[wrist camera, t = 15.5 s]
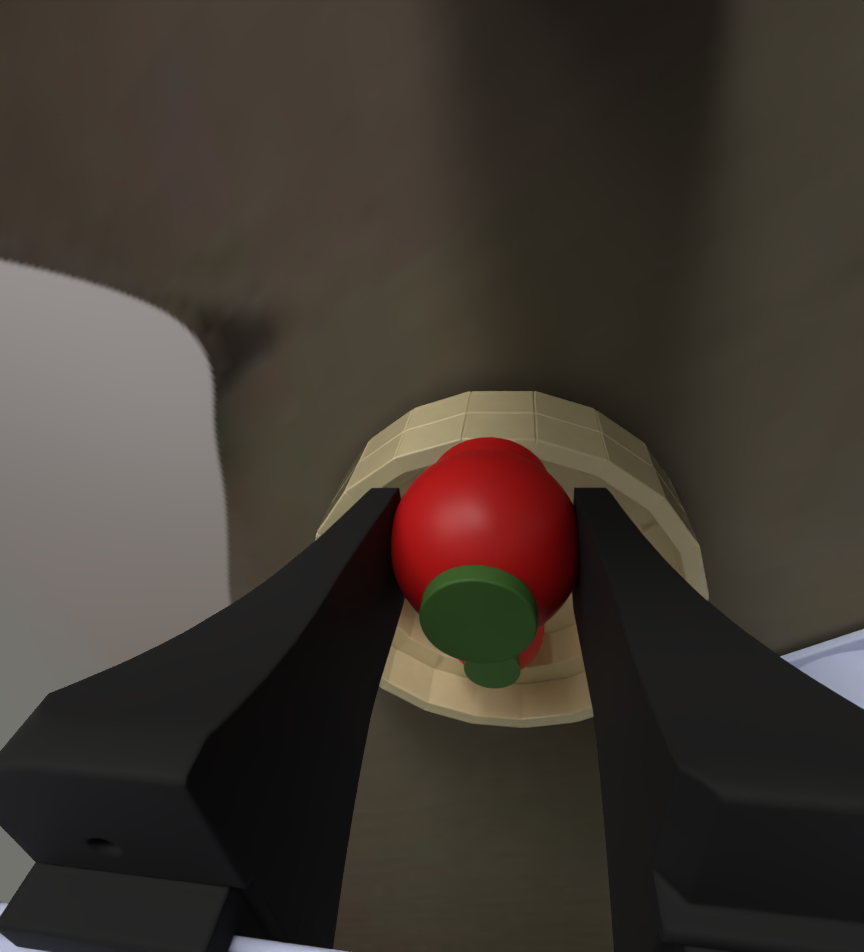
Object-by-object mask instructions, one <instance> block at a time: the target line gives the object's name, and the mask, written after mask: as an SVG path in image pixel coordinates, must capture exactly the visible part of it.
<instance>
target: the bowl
mask: <svg viewBox="0 0 864 952" xmlns="http://www.w3.org/2000/svg"><path fill="white" fill-rule="evenodd" d="M481 437H495V438H502V439H507V440H510V441H513V442H516V443H518V444H520V445H522V446H524V447H525V448H527V449H528V450H530V451H531V452H532V453H533V454H535V455H536V456H537V457H538V458H539V459H540V461H541V462H542V463H543V465H544V466H545V468H546V470H547V472H548V473H549V474H551V475H552V476H553V477H554V479H555V480H556V481H557V482H558V483H559V484H560V485H561V486H562V487H563V489H564V490H565V492H566V493H567V495H568V496H569V498H570V500H571V502H572V504H573V501H574V488H607V489H608V490H609V491H610V492H611V493H612V495H613V496H614V498H615V499H616V500H617V502H618V503H619V505H620V506H621V507H622V509H623V510H624V511H625V513H626V514H627V515H628V516H629V518H630V519H631V520H632V522H633V523H634V524H635V525H636V527H637V528H638V529H639V530H640V531H641V533H642V534H643V535H644V536H645V537H646V538H647V540H648V541H649V542H650V543H651V544H652V545H653V546H654V548H655V549H656V550H657V551H658V552H659V553H660V554H661V556H662V557H663V558H664V559H665V560H666V561H667V562H668V563H669V564H670V565H671V566H672V567H673V568H674V569H675V570H676V571H677V572H678V573H679V574H680V575H681V576H682V577H683V578H684V579H685V580H686V581H687V582H688V583H689V584H690V585H691V586H692V587H693V588H694V589H695V590H696V591H697V592H698V593H699V594H700V595H702V596H703V597H704V598H705V599H706V600H707V601H708V599H709V591H708V585H707V580H706V575H705V570H704V564H703V559H702V554H701V548H700V545H699V543H698V541H697V538H696V536H695V534H694V531H693V529H692V527H691V524H690V522H689V520H688V517H687V515H686V513H685V510H684V508H683V506H682V503H681V501H680V499H679V496H678V494H677V492H676V489H675V487H674V485H673V483H672V482H671V480H670V479H669V477H668V476H667V474H666V473H665V472H664V470H663V469H662V467H661V466H660V464H659V463H658V462H657V460H656V459H655V457H654V456H653V454H652V453H651V452H650V450H649V449H648V447H647V446H646V444H645V443H643V442H642V441H641V440H640V439H638V438H637V437H635V436H634V435H632V434H631V433H629V432H628V431H626V430H625V429H624V428H622V427H621V426H619V425H618V424H616V423H615V422H613V421H612V420H610V419H609V418H607V417H606V416H605V415H603V414H602V413H600V412H599V411H597V410H595V409H594V408H591V407H588V406H584V405H581V404H578V403H574V402H571V401H568V400H564V399H561V398H557V397H554V396H551V395H547V394H544V393H540V392H537V391H534V392H533V391H472V392H470V391H468V392H465V393H462V394H459V395H455V396H452V397H449V398H446V399H442V400H439V401H436V402H433V403H429V404H426V405H423V406H420V407H417V408H414V409H413V410H411V411H409V412H408V413H406V414H405V415H404V416H402V417H401V418H399V419H398V420H397V421H395V422H394V423H392V424H391V425H390V426H388V427H387V428H385V429H384V430H383V431H381V432H380V433H378V434H377V435H376V436H374V437H373V438H371V440H370V441H369V442H368V443H367V444H366V446H365V447H364V449H363V450H362V452H361V453H360V455H359V456H358V458H357V459H356V461H355V462H354V464H353V465H352V467H351V468H350V470H349V471H348V473H347V474H346V476H345V477H344V479H343V481H342V483H341V485H340V487H339V489H338V491H337V493H336V495H335V497H334V499H333V501H332V503H331V505H330V507H329V509H328V511H327V513H326V515H325V517H324V519H323V521H322V523H321V525H320V527H319V529H318V531H317V533H316V538H315V541H316V540H317V539H318V538H319V537H320V536H321V535H322V534H323V533H324V532H325V531H326V530H328V529H329V528H330V527H331V526H332V525H333V524H334V523H335V522H336V521H337V520H338V519H339V518H340V517H341V516H343V515H344V514H345V513H346V512H347V511H348V510H349V509H350V508H351V507H352V506H353V505H354V504H355V503H356V502H357V501H358V500H359V499H360V498H361V497H362V496H363V495H364V494H365V493H366V492H368V491H369V490H370V489H371V488H399V490H400V496H401V499H402V497H403V495H404V493H405V492H406V491H407V489H408V488H409V487H410V485H411V484H412V483H413V482H414V480H415V479H416V478H417V477H418V476H419V475H420V474H421V473H423V472H424V471H425V470H426V469H428V468H429V467H430V466H432V465H433V464H435V463H436V462H437V461H438V460H439V459H440V457H441V456H442V455H443V454H444V453H445V452H447V451H448V450H449V449H451V448H452V447H454V446H456V445H457V444H459V443H462V442H464V441H467V440H470V439H474V438H481ZM379 687H381V688H382V689H384V690H386V691H388V692H390V693H392V694H394V695H395V696H397V697H399V698H401V699H403V700H405V701H407V702H409V703H411V704H413V705H415V706H417V707H419V708H421V709H424V710H425V711H428V712H432V713H436V714H439V715H443V716H446V717H450V718H453V719H457V720H460V721H464V722H468V723H471V724H472V723H473V724H482V725H494V726H505V727H517V728H524V727H525V728H529V727H539V726H548V725H557V724H567V723H575V722H580V721H583V720H586V719H589V718H592V717H594V716H593V709H592V704H591V699H590V694H589V688H588V683H587V678H586V673H585V668H584V663H583V658H582V652H581V647H580V642H579V637H578V632H577V626H576V621H575V616H574V610H573V599H572V592H571V594H570V596H569V597H568V599H567V600H566V602H565V603H564V605H563V606H562V607H561V608H560V610H559V611H558V612H557V613H556V614H555V615H554V616H553V617H552V618H551V619H549V620H548V621H547V622H546V623H545V624H544V637H543V642H542V645H541V647H540V650H539V652H538V653H537V655H536V656H535V658H534V659H533V660H532V661H531V663H530V664H529V665H527V666H526V667H525V668H524V669H522V670H521V672H520V676H519V678H518V680H517V681H516V682H515V683H514V684H512V685H510V686H508V687H504V688H498V689H493V688H486V687H482V686H479V685H477V684H475V683H473V682H472V681H471V680H470V679H469V678H468V677H467V676H466V674H465V672H464V665H463V664H462V663H461V662H460V661H459V660H458V659H456V658H453V657H451V656H449V655H447V654H445V653H443V652H442V651H440V650H439V649H437V648H436V647H435V646H434V645H433V644H432V643H431V642H430V641H429V640H428V639H427V637H426V636H425V634H424V632H423V631H422V628H421V625H420V620H419V614H418V613H417V612H416V611H415V610H414V608H413V607H412V606H411V604H410V603H409V602H408V600H407V599H406V597H405V598H404V604H403V607H402V611H401V614H400V618H399V621H398V625H397V628H396V631H395V635H394V638H393V641H392V645H391V648H390V651H389V655H388V658H387V661H386V664H385V668H384V671H383V674H382V678H381V681H380V684H379Z"/></svg>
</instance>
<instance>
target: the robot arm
mask: <svg viewBox="0 0 864 952" xmlns="http://www.w3.org/2000/svg"><path fill="white" fill-rule="evenodd" d="M400 501H401V496H400V490H399V488H371V489H370V490H369V491H368V492H366V493H365V494H364V495H363V496H362V497H361V498H360V499H359V500H358V501H357V502H356V503H355V504H354V505H353V506H352V507H351V508H350V509H349V510H348V511H347V512H346V513H345V514H344V515H343V516H341V517H340V518H339V519H338V520H337V521H336V522H335V523H334V524H333V525H332V526H331V527H330V528H329V529H328V530H326V531H325V532H324V533H323V534H322V535H321V536H320V537H319V538H318V539H317V540H316V541H315V542H313V543H312V544H311V545H310V546H309V547H307V548H306V549H305V550H304V551H303V552H301V553H300V554H299V555H298V556H297V557H295V558H294V559H293V560H292V561H291V562H289V563H288V564H287V565H286V566H285V567H283V568H282V569H281V570H280V571H278V572H277V573H276V574H274V575H273V576H272V577H270V578H269V579H268V580H266V581H265V582H264V583H262V584H261V585H259V586H258V587H257V588H255V589H254V590H252V591H251V592H249V593H248V594H246V595H245V596H243V597H242V598H241V599H239V600H237V601H236V602H234V603H233V604H231V605H230V606H228V607H226V608H225V609H223V610H221V611H219V612H218V613H216V614H214V615H213V616H211V617H209V618H208V619H206V620H204V621H203V622H201V623H199V624H198V625H196V626H194V627H193V628H191V629H189V630H187V631H185V632H184V633H182V634H180V635H178V636H176V637H174V638H172V639H170V640H169V641H167V642H165V643H163V644H161V645H159V646H157V647H155V648H153V649H150V650H149V651H146V652H144V653H142V654H140V655H138V656H136V657H134V658H132V659H130V660H128V661H125V662H123V663H121V664H119V665H117V666H114V667H112V668H110V669H107V670H105V671H102V672H100V673H98V674H95V675H93V676H90V677H88V678H86V679H84V680H81V681H79V682H76V683H74V684H71V685H69V686H67V687H64V688H62V689H59V690H57V691H54V692H52V693H49V694H48V695H47V696H46V697H45V698H44V700H43V701H42V702H41V703H40V705H39V706H38V707H37V708H36V709H35V710H34V712H33V713H32V714H31V715H30V716H29V718H28V719H27V720H26V721H25V722H24V724H23V725H22V726H21V727H20V728H19V729H18V731H17V732H16V733H15V734H14V735H13V737H12V738H11V739H10V740H9V741H8V743H7V744H6V745H5V746H4V748H3V749H2V750H1V751H0V826H1V827H2V828H3V829H4V830H5V831H6V832H7V833H8V834H9V835H10V836H11V837H12V838H13V839H14V840H15V841H16V842H17V843H18V844H19V845H20V846H21V847H22V848H23V849H24V851H25V852H26V853H27V854H28V855H29V856H30V857H31V858H32V859H33V860H34V861H35V862H36V863H35V864H34V866H33V867H32V869H31V871H30V872H29V873H28V875H27V876H26V878H25V880H24V881H23V882H22V884H21V886H20V887H19V889H18V890H17V891H16V893H15V895H14V896H13V898H12V900H11V901H10V902H9V903H5V902H0V952H348V951H341V950H334V949H333V944H334V936H335V929H336V922H337V915H338V908H339V901H340V893H341V886H342V879H343V872H344V866H345V860H346V853H347V847H348V841H349V835H350V828H351V822H352V816H353V810H354V804H355V798H356V793H357V787H358V781H359V776H360V770H361V764H362V759H363V754H364V749H365V744H366V738H367V733H368V728H369V723H370V718H371V714H372V710H373V706H374V702H375V698H376V694H377V691H378V688H379V684H380V681H381V678H382V674H383V671H384V668H385V664H386V661H387V658H388V655H389V651H390V648H391V645H392V641H393V638H394V635H395V631H396V628H397V625H398V621H399V618H400V614H401V611H402V607H403V604H404V598H405V596H404V595H403V593H402V591H401V589H400V587H399V585H398V582H397V580H396V577H395V574H394V571H393V566H392V561H391V534H392V527H393V520H394V516H395V512H396V509H397V507H398V505H399V503H400ZM573 506H574V508H575V512H576V519H577V532H578V547H579V568H578V577H577V581H576V583H575V585H574V588H573V590H572V599H573V610H574V616H575V621H576V626H577V632H578V637H579V642H580V647H581V652H582V658H583V663H584V668H585V673H586V678H587V683H588V688H589V694H590V699H591V704H592V709H593V716H594V722H595V729H596V738H597V749H598V759H599V770H600V780H601V792H602V803H603V815H604V826H605V837H606V850H607V863H608V875H609V888H610V900H611V914H612V928H613V942H614V952H864V629H862V630H859V631H856V632H853V633H849V634H846V635H843V636H840V637H837V638H834V639H831V640H828V641H825V642H822V643H819V644H816V645H813V646H810V647H807V648H804V649H801V650H798V651H795V652H792V653H789V654H786V655H783V656H779V655H777V654H776V653H774V652H773V651H772V650H770V649H769V648H767V647H766V646H765V645H763V644H762V643H760V642H759V641H758V640H756V639H755V638H753V637H752V636H751V635H749V634H748V633H747V632H745V631H744V630H743V629H741V628H740V627H739V626H737V625H736V624H735V623H734V622H732V621H731V620H730V619H729V618H727V617H726V616H725V615H724V614H723V613H721V612H720V611H719V610H718V609H717V608H715V607H714V606H713V605H712V604H711V603H710V602H708V601H707V600H706V599H705V598H704V597H703V596H702V595H700V594H699V593H698V592H697V591H696V590H695V589H694V588H693V587H692V586H691V585H690V584H689V583H688V582H687V581H686V580H685V579H684V578H683V577H682V576H681V575H680V574H679V573H678V572H677V571H676V570H675V569H674V568H673V567H672V566H671V565H670V564H669V563H668V562H667V561H666V560H665V559H664V558H663V557H662V556H661V554H660V553H659V552H658V551H657V550H656V549H655V548H654V546H653V545H652V544H651V543H650V542H649V541H648V540H647V538H646V537H645V536H644V535H643V534H642V533H641V531H640V530H639V529H638V528H637V527H636V525H635V524H634V523H633V522H632V520H631V519H630V518H629V516H628V515H627V514H626V513H625V511H624V510H623V509H622V507H621V506H620V505H619V503H618V502H617V500H616V499H615V498H614V496H613V495H612V493H611V492H610V491H609V490H608V489H607V488H574V501H573Z"/></svg>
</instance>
